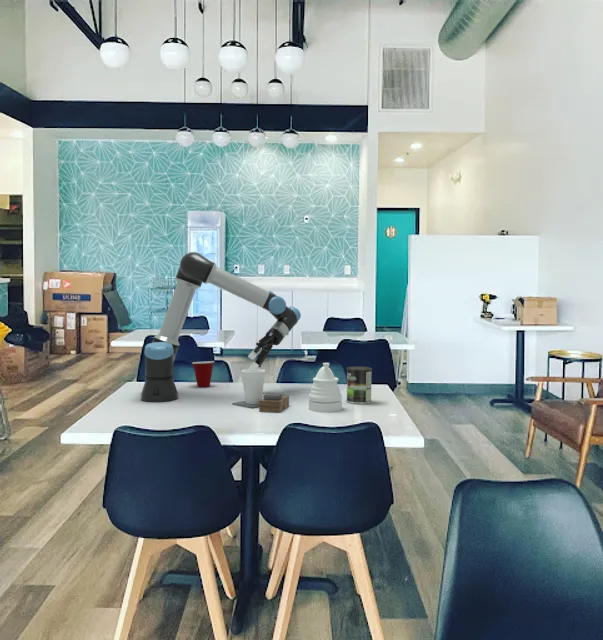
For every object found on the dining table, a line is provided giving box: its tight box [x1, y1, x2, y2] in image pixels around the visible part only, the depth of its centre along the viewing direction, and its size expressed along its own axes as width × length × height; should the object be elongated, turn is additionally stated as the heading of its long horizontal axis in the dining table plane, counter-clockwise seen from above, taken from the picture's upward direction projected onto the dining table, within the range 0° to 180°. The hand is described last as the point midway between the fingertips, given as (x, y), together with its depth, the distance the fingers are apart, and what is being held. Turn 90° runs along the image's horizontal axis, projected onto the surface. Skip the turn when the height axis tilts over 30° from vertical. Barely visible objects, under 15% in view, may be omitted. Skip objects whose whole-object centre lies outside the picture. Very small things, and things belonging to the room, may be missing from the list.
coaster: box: [232, 400, 259, 409], centre depth 247 cm, size 12×12×1 cm
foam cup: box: [241, 368, 266, 404], centre depth 247 cm, size 10×9×13 cm
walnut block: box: [258, 392, 290, 413], centre depth 238 cm, size 14×8×6 cm, turn 167°
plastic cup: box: [191, 360, 215, 388], centre depth 292 cm, size 11×11×12 cm
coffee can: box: [346, 365, 373, 405], centre depth 251 cm, size 10×10×14 cm
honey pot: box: [308, 362, 343, 413], centre depth 237 cm, size 13×13×18 cm
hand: (249, 366), depth 263 cm, fingers open, 13 cm apart
